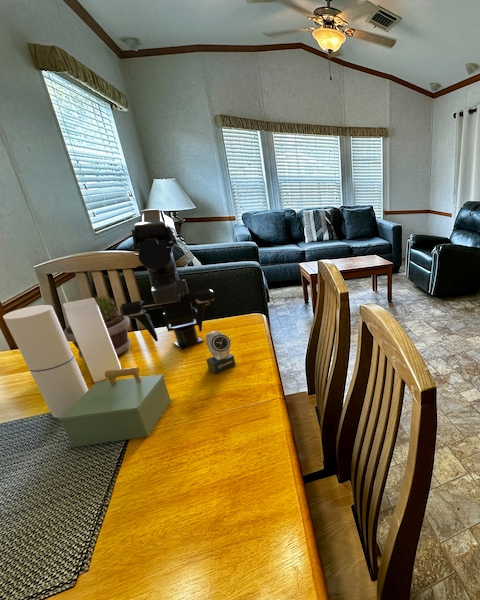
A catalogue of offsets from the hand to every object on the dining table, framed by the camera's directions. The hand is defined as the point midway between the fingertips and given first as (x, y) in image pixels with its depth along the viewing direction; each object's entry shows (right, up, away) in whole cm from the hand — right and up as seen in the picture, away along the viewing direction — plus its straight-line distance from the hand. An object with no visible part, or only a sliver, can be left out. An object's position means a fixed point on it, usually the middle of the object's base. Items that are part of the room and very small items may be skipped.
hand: (179, 336), depth 81 cm
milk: (-27, -12, +10) cm, 31 cm away
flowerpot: (-35, -8, +19) cm, 41 cm away
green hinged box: (-7, -18, -8) cm, 21 cm away
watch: (+4, -10, +13) cm, 17 cm away
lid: (-7, -12, -10) cm, 17 cm away
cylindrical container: (-23, -17, -3) cm, 29 cm away
